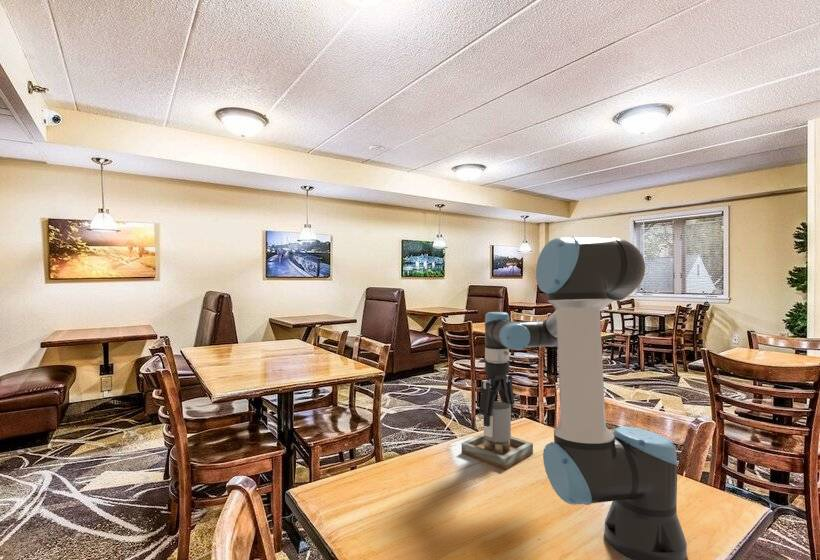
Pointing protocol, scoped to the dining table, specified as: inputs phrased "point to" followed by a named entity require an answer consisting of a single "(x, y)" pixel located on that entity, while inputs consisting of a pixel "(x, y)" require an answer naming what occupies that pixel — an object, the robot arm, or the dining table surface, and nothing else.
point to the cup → (501, 422)
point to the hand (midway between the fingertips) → (497, 431)
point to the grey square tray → (497, 451)
